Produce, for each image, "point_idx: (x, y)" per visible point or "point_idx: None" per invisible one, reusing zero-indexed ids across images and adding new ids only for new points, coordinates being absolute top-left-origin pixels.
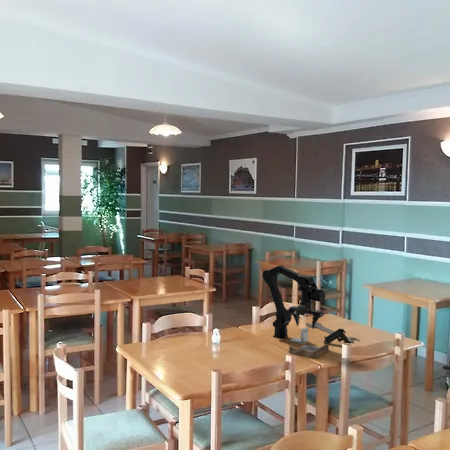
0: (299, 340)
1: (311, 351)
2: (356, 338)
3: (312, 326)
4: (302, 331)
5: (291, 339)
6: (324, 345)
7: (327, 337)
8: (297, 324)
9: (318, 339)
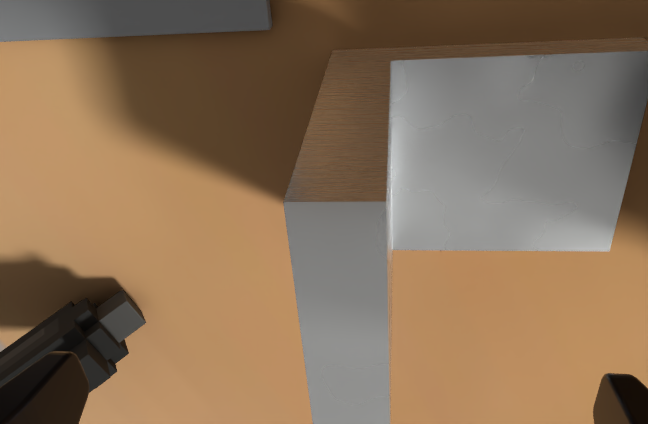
0: (450, 125)
1: None
2: None
3: (14, 402)
4: (333, 175)
5: (631, 80)
6: None
7: None
8: (623, 409)
9: (281, 378)
